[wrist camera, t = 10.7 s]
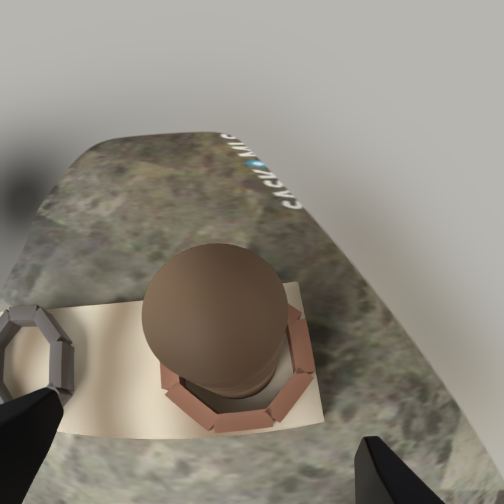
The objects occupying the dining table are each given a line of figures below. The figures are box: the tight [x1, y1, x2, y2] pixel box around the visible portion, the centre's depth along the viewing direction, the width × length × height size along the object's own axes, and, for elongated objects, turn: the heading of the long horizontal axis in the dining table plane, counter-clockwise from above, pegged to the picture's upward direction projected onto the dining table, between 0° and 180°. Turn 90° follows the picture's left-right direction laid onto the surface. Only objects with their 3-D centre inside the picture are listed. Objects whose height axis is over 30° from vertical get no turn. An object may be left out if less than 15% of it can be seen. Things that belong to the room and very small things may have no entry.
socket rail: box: [0, 281, 324, 439], centre depth 17 cm, size 23×9×3 cm, turn 97°
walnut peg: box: [142, 244, 288, 399], centre depth 13 cm, size 4×4×9 cm
